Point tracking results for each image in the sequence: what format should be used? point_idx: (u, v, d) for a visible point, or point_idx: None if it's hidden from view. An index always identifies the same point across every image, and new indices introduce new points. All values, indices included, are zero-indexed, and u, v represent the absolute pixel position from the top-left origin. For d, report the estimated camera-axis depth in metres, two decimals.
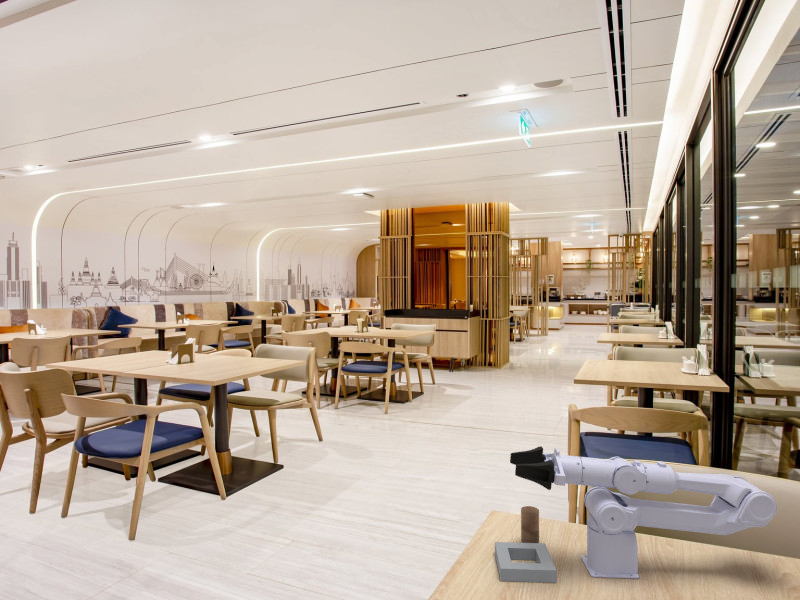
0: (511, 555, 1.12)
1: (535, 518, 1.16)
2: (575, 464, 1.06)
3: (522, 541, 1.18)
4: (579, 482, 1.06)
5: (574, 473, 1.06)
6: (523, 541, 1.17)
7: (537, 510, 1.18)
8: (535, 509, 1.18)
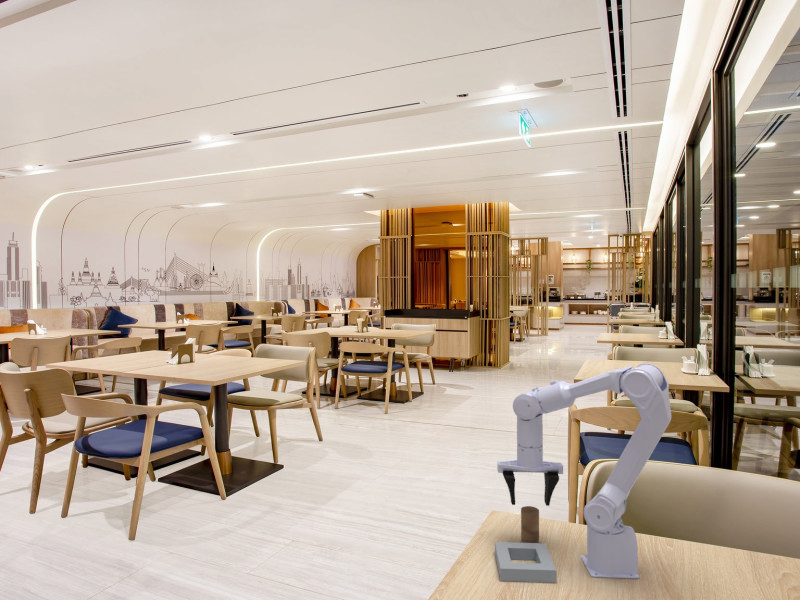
0: (511, 555, 1.12)
1: (535, 518, 1.16)
2: None
3: (522, 541, 1.18)
4: (521, 447, 1.16)
5: (517, 450, 1.18)
6: (523, 541, 1.17)
7: (537, 510, 1.18)
8: (535, 509, 1.18)
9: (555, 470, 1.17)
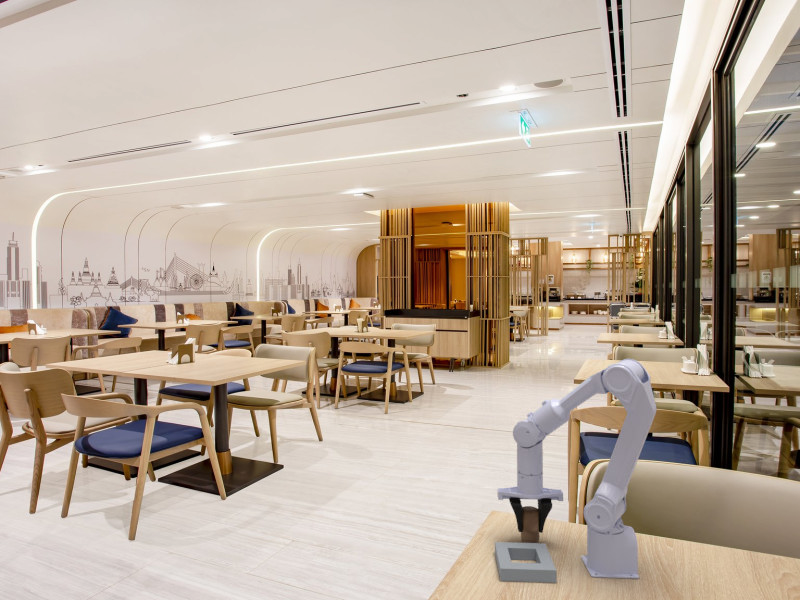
0: (511, 555, 1.12)
1: (535, 518, 1.16)
2: None
3: (522, 541, 1.18)
4: (521, 474, 1.16)
5: (517, 477, 1.18)
6: (523, 541, 1.17)
7: (537, 510, 1.18)
8: (535, 509, 1.18)
9: (555, 497, 1.17)
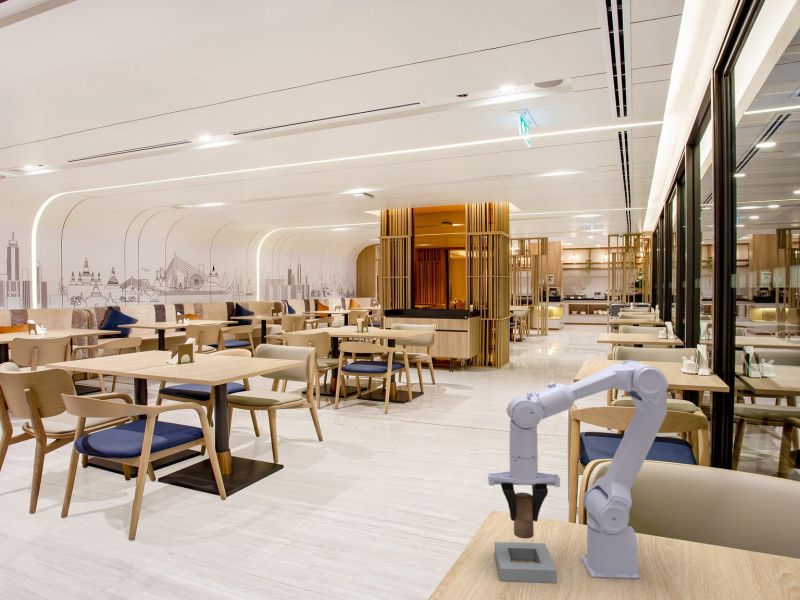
0: (511, 555, 1.12)
1: (528, 505, 1.07)
2: None
3: (515, 530, 1.08)
4: (513, 458, 1.07)
5: None
6: (516, 530, 1.08)
7: (531, 497, 1.08)
8: (529, 496, 1.08)
9: (551, 483, 1.07)
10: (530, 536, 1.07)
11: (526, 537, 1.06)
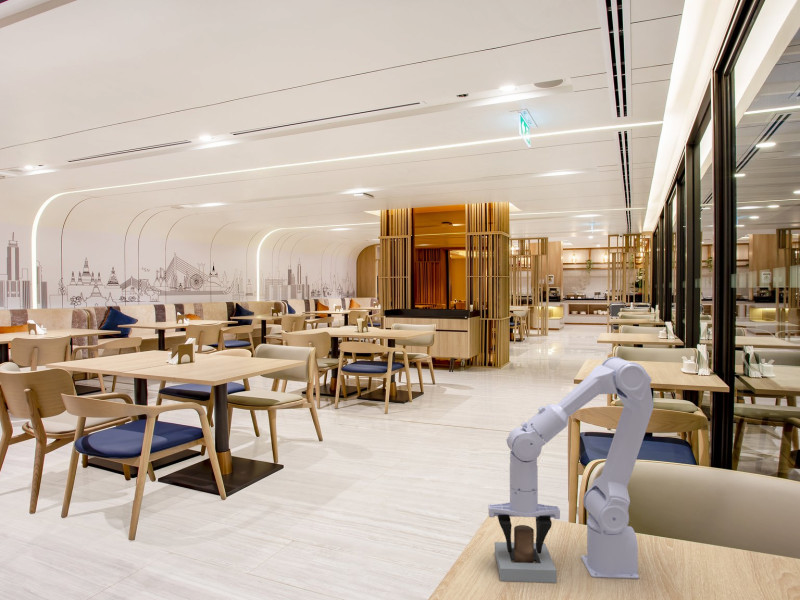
0: (511, 555, 1.12)
1: (529, 539, 1.07)
2: None
3: None
4: (514, 490, 1.07)
5: None
6: None
7: (531, 530, 1.08)
8: (529, 529, 1.09)
9: (551, 514, 1.08)
10: None
11: None
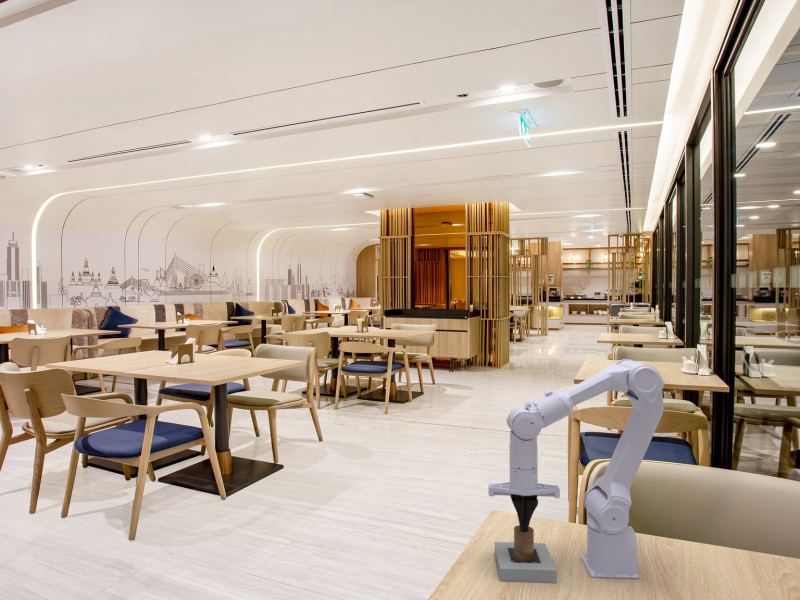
0: (511, 555, 1.12)
1: (529, 539, 1.07)
2: None
3: None
4: (513, 469, 1.07)
5: None
6: None
7: (531, 530, 1.08)
8: (529, 529, 1.09)
9: (551, 493, 1.07)
10: None
11: None
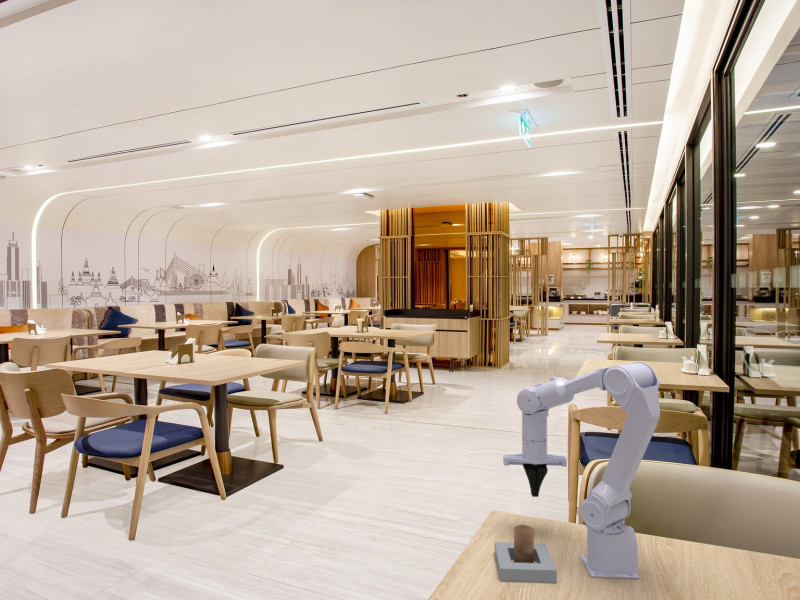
0: (511, 555, 1.12)
1: (529, 539, 1.07)
2: None
3: None
4: (526, 441, 1.21)
5: (522, 444, 1.23)
6: None
7: (531, 530, 1.08)
8: (529, 529, 1.09)
9: (559, 463, 1.22)
10: None
11: None
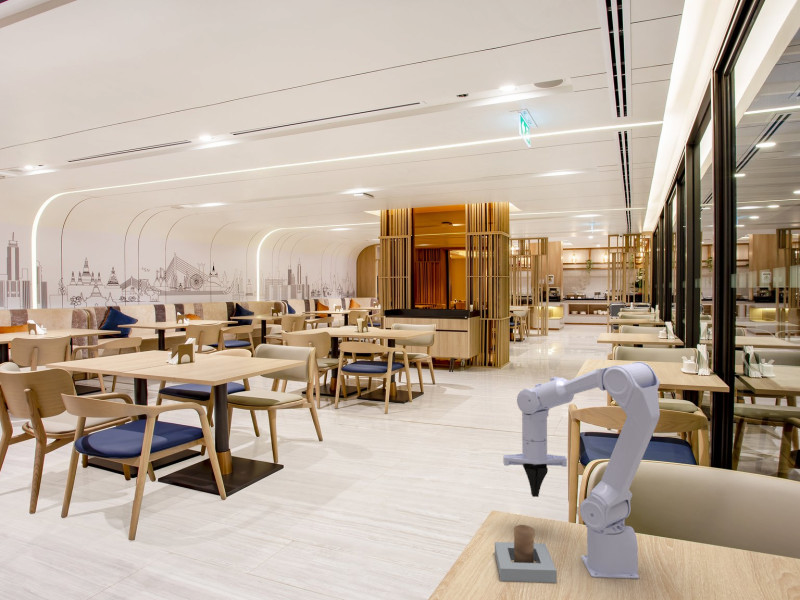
0: (511, 555, 1.12)
1: (529, 539, 1.07)
2: None
3: None
4: (526, 441, 1.21)
5: (522, 444, 1.23)
6: None
7: (531, 530, 1.08)
8: (529, 529, 1.09)
9: (559, 463, 1.22)
10: None
11: None
